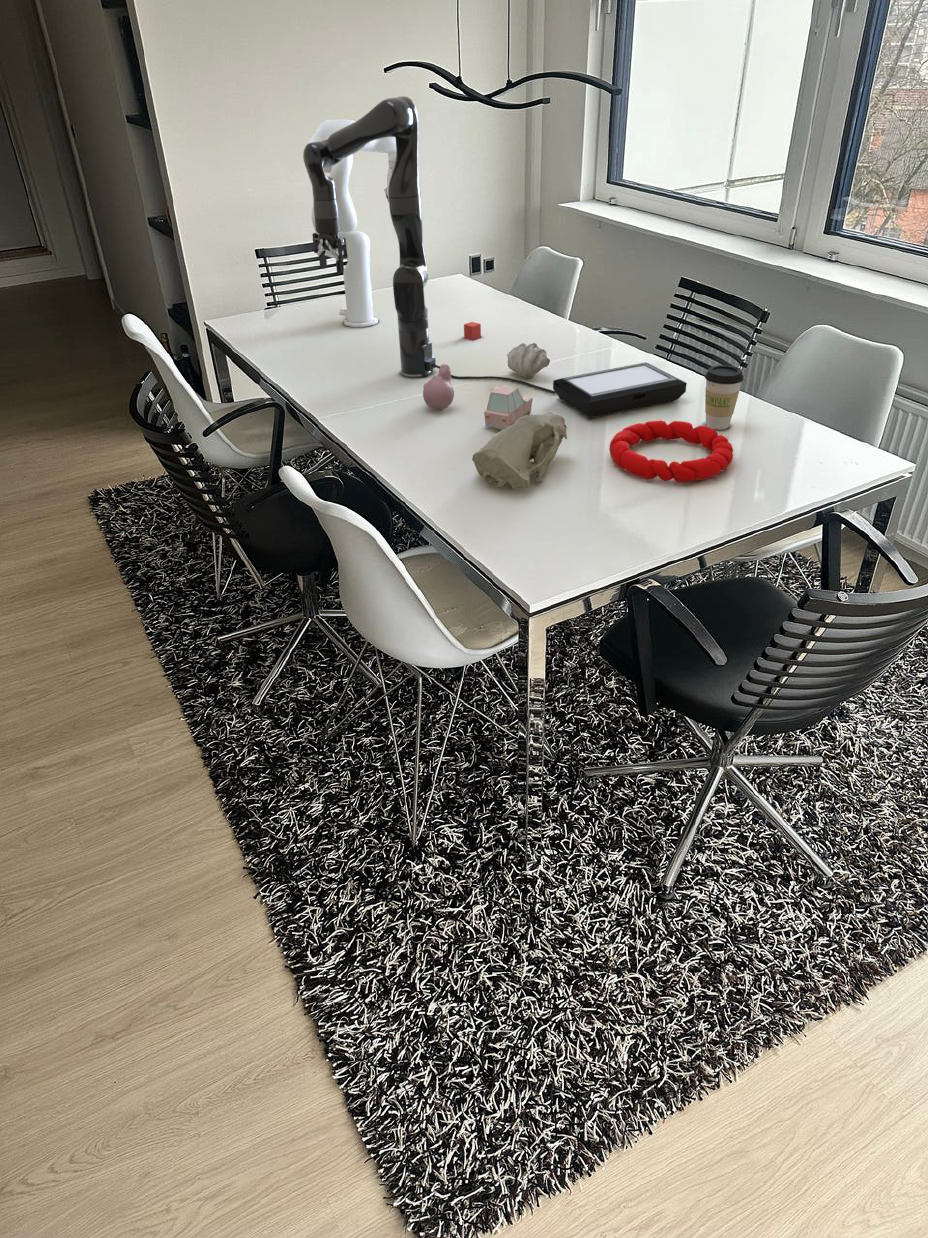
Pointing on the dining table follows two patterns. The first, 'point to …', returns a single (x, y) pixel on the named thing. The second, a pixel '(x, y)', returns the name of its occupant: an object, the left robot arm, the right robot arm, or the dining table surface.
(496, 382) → the dining table surface
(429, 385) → the figurine
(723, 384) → the coffee cup
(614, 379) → the electronic device
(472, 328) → the block
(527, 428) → the animal skull
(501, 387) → the toy car
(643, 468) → the decorative ring
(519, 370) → the seashell
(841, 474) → the dining table surface
